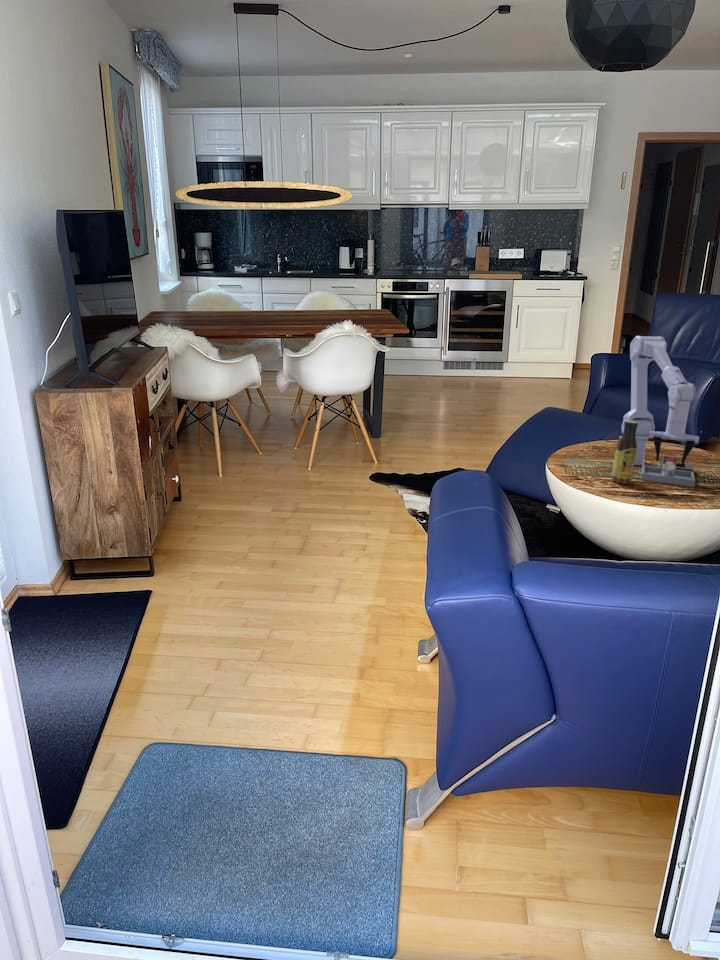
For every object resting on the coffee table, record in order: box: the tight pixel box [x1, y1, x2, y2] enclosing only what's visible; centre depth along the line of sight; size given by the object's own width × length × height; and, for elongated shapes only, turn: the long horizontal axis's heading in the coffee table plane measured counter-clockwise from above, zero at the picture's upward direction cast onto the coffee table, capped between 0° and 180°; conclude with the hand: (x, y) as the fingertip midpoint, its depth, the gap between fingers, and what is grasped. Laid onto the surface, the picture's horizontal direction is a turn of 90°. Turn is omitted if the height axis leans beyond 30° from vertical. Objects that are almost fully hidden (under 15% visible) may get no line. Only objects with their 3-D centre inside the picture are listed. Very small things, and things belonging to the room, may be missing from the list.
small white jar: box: [661, 454, 678, 477], centre depth 237 cm, size 4×4×7 cm
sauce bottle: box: [610, 420, 638, 485], centre depth 230 cm, size 7×6×20 cm
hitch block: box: [659, 459, 694, 472], centre depth 247 cm, size 10×8×2 cm
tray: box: [640, 465, 696, 488], centre depth 238 cm, size 16×11×2 cm
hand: (669, 461), depth 237 cm, fingers open, 7 cm apart
